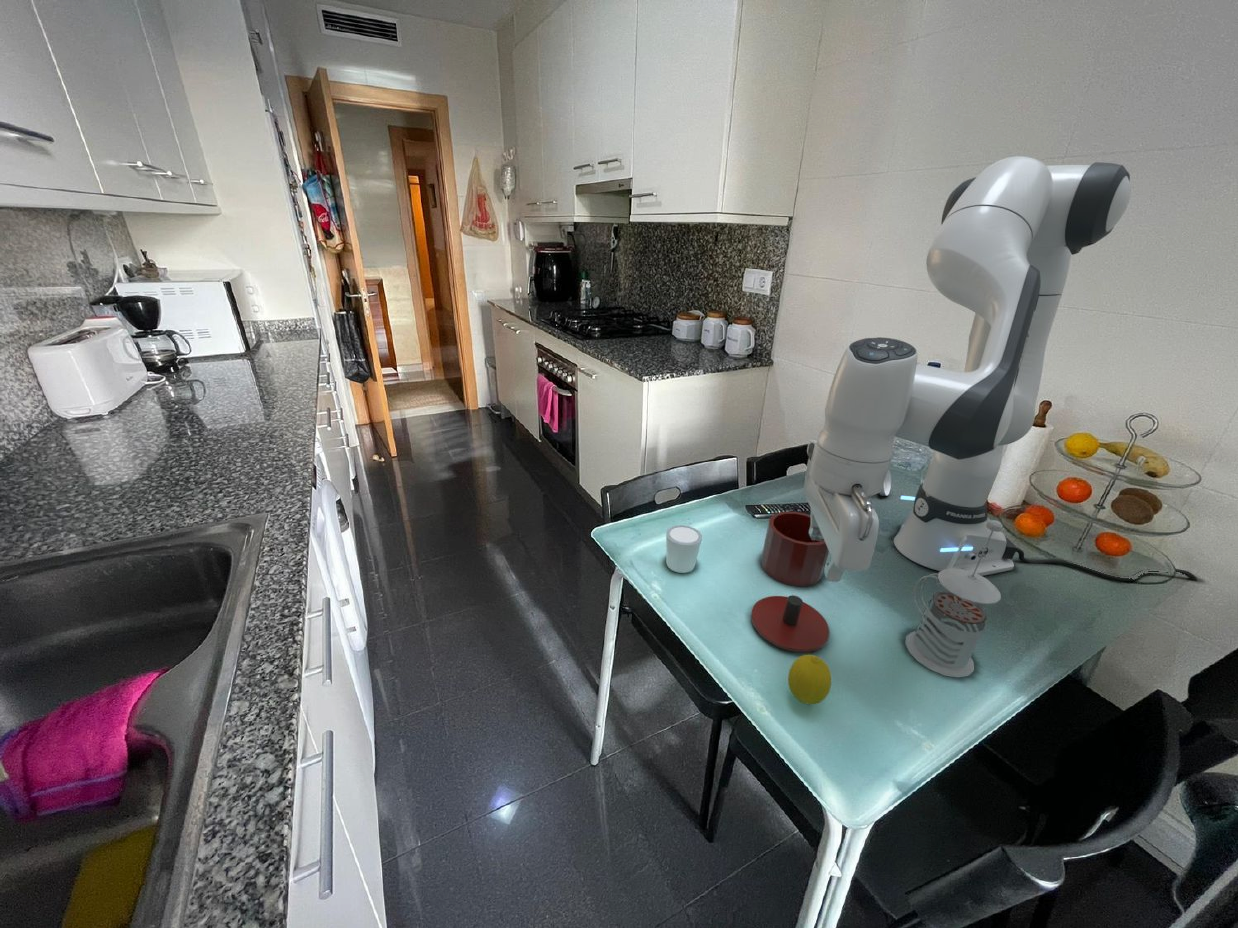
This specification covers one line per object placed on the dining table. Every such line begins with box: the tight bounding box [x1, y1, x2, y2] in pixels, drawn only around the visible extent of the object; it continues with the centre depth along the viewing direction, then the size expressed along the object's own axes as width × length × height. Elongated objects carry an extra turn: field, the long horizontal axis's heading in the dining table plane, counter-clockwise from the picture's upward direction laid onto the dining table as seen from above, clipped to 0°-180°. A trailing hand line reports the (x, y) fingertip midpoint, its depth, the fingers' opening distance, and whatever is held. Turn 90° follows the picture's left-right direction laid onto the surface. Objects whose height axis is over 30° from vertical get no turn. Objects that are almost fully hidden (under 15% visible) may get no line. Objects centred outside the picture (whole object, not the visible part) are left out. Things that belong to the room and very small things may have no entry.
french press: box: [904, 519, 1004, 679], centre depth 76 cm, size 10×12×25 cm
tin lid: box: [750, 594, 830, 653], centre depth 83 cm, size 13×13×6 cm
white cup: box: [665, 524, 703, 574], centre depth 97 cm, size 7×7×7 cm
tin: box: [760, 511, 830, 587], centre depth 97 cm, size 12×12×10 cm
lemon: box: [787, 654, 832, 705], centre depth 70 cm, size 6×6×8 cm
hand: (822, 556), depth 70 cm, fingers open, 8 cm apart
